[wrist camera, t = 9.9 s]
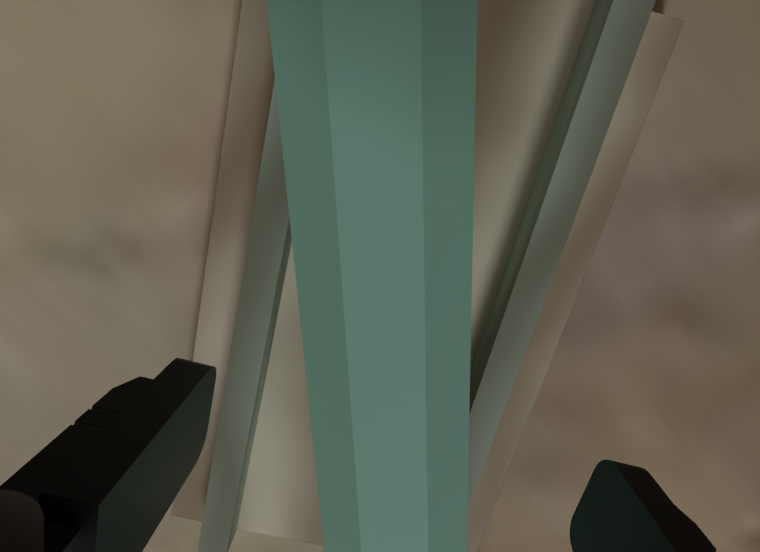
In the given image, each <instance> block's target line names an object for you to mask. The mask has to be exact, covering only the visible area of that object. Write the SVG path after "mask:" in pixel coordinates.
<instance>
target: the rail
mask: <svg viewBox="0 0 760 552" xmlns="http://www.w3.org/2000/svg"><path fill="white" fill-rule="evenodd" d="M655 2H656V0H477V48H476V99H475V150H474V201H473V252H472V304H471V355H470V406H469V457H468V508H467V552H477V549H478V546H479V544H480V541H481V539H482V536H483V534H484V531H485V529H486V526H487V523H488V521H489V518H490V516H491V513H492V511H493V508H494V506H495V503H496V500H497V498H498V495H499V493H500V490H501V488H502V485H503V483H504V480H505V477H506V475H507V472H508V470H509V467H510V465H511V462H512V460H513V457H514V454H515V452H516V449H517V447H518V444H519V442H520V439H521V437H522V434H523V431H524V429H525V426H526V424H527V421H528V419H529V416H530V414H531V411H532V408H533V406H534V403H535V401H536V398H537V396H538V393H539V391H540V388H541V385H542V383H543V380H544V378H545V375H546V373H547V370H548V368H549V365H550V363H551V360H552V357H553V355H554V352H555V350H556V347H557V345H558V342H559V340H560V337H561V334H562V332H563V329H564V327H565V324H566V322H567V319H568V317H569V314H570V311H571V309H572V306H573V304H574V301H575V299H576V296H577V294H578V291H579V288H580V286H581V283H582V281H583V278H584V276H585V273H586V271H587V268H588V265H589V263H590V260H591V258H592V255H593V253H594V250H595V248H596V245H597V242H598V240H599V237H600V235H601V232H602V230H603V227H604V225H605V222H606V219H607V217H608V214H609V212H610V209H611V207H612V204H613V202H614V199H615V196H616V194H617V191H618V189H619V186H620V184H621V181H622V179H623V176H624V173H625V171H626V168H627V166H628V163H629V161H630V158H631V156H632V153H633V151H634V148H635V145H636V143H637V140H638V138H639V135H640V133H641V130H642V128H643V125H644V122H645V120H646V117H647V115H648V112H649V110H650V107H651V105H652V102H653V99H654V97H655V94H656V92H657V89H658V87H659V84H660V82H661V79H662V76H663V74H664V71H665V69H666V66H667V64H668V61H669V59H670V56H671V53H672V51H673V48H674V46H675V43H676V41H677V38H678V36H679V33H680V30H681V28H682V25H683V23H684V20H681V19H678V18H674V17H670V16H667V15H663V14H660V13H656V12H653V11H652V10H653V7H654V4H655ZM193 362H197V363H202V364H206V365H210V366H214V367H215V368H216V381H215V388H214V394H213V400H212V406H211V412H210V418H209V425H208V431H207V435H206V439H205V443H204V446H203V449H202V451H201V454H200V456H199V459H198V461H197V463H196V465H195V466H194V468H193V470H192V471H191V473H190V474H189V476H188V478H187V479H186V481H185V483H184V484H183V486H182V487H181V489H180V491H179V492H178V494H177V496H176V497H175V499H174V500H173V508H172V516H177V517H182V518H187V519H192V520H197V521H202V528H201V534H200V540H199V547H198V552H228V550H229V548H230V545H231V542H232V540H233V537H234V535H235V532H236V529H242V530H247V531H252V532H257V533H262V534H267V535H272V536H277V537H282V538H287V539H292V540H297V541H302V542H307V543H312V544H317V545H322V546H324V542H323V533H322V523H321V514H320V504H319V495H318V485H317V476H316V466H315V457H314V447H313V437H312V428H311V418H310V409H309V399H308V390H307V380H306V371H305V361H304V352H303V342H302V333H301V323H300V314H299V304H298V295H297V285H296V275H295V266H294V256H293V247H292V237H291V228H290V218H289V209H288V199H287V190H286V180H285V171H284V161H283V152H282V142H281V132H280V123H279V113H278V104H277V94H276V85H275V75H274V66H273V56H272V47H271V37H270V28H269V18H268V9H267V0H242V6H241V13H240V20H239V28H238V35H237V42H236V49H235V57H234V64H233V71H232V78H231V86H230V93H229V100H228V108H227V115H226V122H225V129H224V137H223V144H222V151H221V159H220V166H219V173H218V180H217V188H216V195H215V202H214V209H213V217H212V224H211V231H210V239H209V246H208V253H207V260H206V268H205V275H204V282H203V289H202V297H201V304H200V311H199V319H198V326H197V333H196V340H195V348H194V355H193Z"/></svg>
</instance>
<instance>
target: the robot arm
mask: <svg viewBox="0 0 760 552" xmlns="http://www.w3.org/2000/svg"><path fill="white" fill-rule="evenodd" d="M215 381H216V368H215V367H214V366H210V365H206V364H202V363H197V362H193V361H189V360H185V359H180V358H176V359H174V360H173V361H172V362H171V363H170V364H169V365H168V366H167V367H166V368H165V369H164V370H163V371H162V372H161V373H160V374H159V375H158V376H157V377H156V378H155V379H154V380H153V379H149V378H145V377H138V378H136V379H133V380H131V381H129V382H126V383H124V384H122V385H119V386H117V387H115V388H113V389H111V390H110V391H109V392H108V393H107V394H106V395H104V396H103V397H102V398H101V399H100V400H99V401H98V402H96V403H95V404H94V405H93V407H92V409H91V410H89V409H88V410H87V411H86V412H85V413H84V414H83V415H82V416H80V417H79V418H78V419H77V420H76V421H75V424H74V425H70V426H69V427H68V428H67V429H65V430H64V431H63V432H62V433H61V434H60V435H59V436H57V437H56V438H55V439H54V440H53V441H52V442H50V443H49V444H48V445H47V446H46V447H45V448H44V449H42V450H41V451H40V452H39V453H38V454H37V455H36V456H34V457H33V458H32V459H31V460H30V461H29V462H27V463H26V464H25V465H24V466H23V467H22V468H21V469H19V470H18V471H17V472H16V473H15V474H14V475H13V476H11V477H10V478H9V479H8V480H7V481H6V482H4V483H3V484H2V485H1V486H0V552H142V551H143V549H144V548H145V546H146V544H147V543H148V541H149V539H150V538H151V536H152V535H153V533H154V531H155V530H156V528H157V526H158V525H159V523H160V522H161V520H162V518H163V517H164V515H165V513H166V512H167V510H168V509H169V507H170V505H171V504H172V502H173V500H174V499H175V497H176V496H177V494H178V492H179V491H180V489H181V487H182V486H183V484H184V483H185V481H186V479H187V478H188V476H189V474H190V473H191V471H192V470H193V468H194V466H195V465H196V463H197V461H198V459H199V456H200V454H201V451H202V449H203V446H204V443H205V439H206V435H207V431H208V425H209V418H210V412H211V406H212V400H213V394H214V388H215ZM570 541H571V546H572V550H573V552H716V548H715V547H714V546H713V545H712V543H711V542H710V541H709V540H708V538H707V537H706V536H705V535H704V533H703V532H702V531H701V530H700V528H699V527H698V526H697V525H696V524H695V523H694V522H693V521H692V520H691V519H690V518H689V517H687V516H686V515H685V514H684V513H683V512H682V511H681V510H679V509H678V508H677V507H676V506H675V505H674V504H673V503H672V501H671V500H670V499H669V498H668V496H667V495H666V494H665V492H664V491H663V490H662V489H661V487H660V486H659V485H658V484H657V482H656V481H655V480H654V478H653V477H652V476H651V475H650V473H649V472H648V471H646V470H645V469H643V468H641V467H636V466H632V465H628V464H624V463H619V462H615V461H611V460H602V461H601V462H599V463H598V465H597V466H596V468H595V469H594V472H593V474H592V476H591V478H590V480H589V482H588V484H587V487H586V489H585V491H584V493H583V495H582V497H581V499H580V502H579V504H578V506H577V508H576V510H575V512H574V514H573V517H572V520H571V525H570Z"/></svg>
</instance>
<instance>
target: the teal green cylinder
mask: <svg viewBox="0 0 760 552" xmlns="http://www.w3.org/2000/svg"><path fill="white" fill-rule="evenodd" d="M267 9H268V18H269V28H270V37H271V47H272V56H273V66H274V75H275V85H276V94H277V104H278V113H279V123H280V132H281V142H282V152H283V161H284V171H285V180H286V190H287V199H288V209H289V218H290V228H291V237H292V247H293V256H294V266H295V275H296V285H297V295H298V304H299V314H300V323H301V333H302V342H303V352H304V361H305V371H306V380H307V390H308V399H309V409H310V418H311V428H312V437H313V447H314V457H315V466H316V476H317V485H318V495H319V504H320V514H321V523H322V533H323V542H324V552H467V508H468V457H469V406H470V355H471V304H472V252H473V201H474V150H475V99H476V48H477V0H267Z"/></svg>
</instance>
